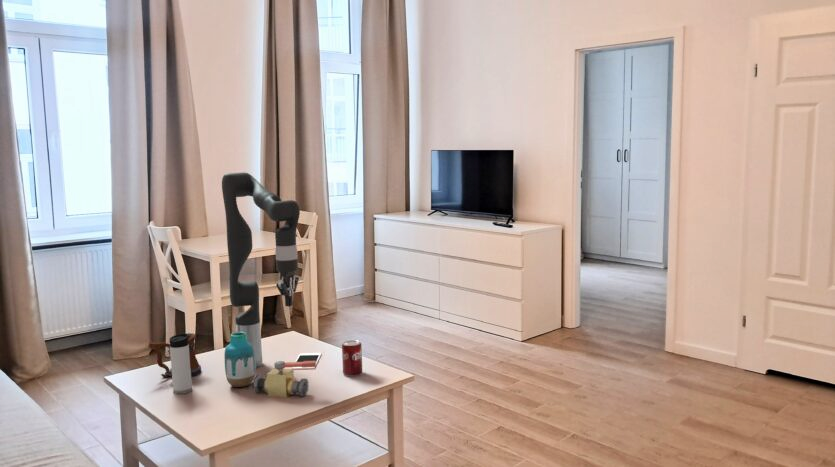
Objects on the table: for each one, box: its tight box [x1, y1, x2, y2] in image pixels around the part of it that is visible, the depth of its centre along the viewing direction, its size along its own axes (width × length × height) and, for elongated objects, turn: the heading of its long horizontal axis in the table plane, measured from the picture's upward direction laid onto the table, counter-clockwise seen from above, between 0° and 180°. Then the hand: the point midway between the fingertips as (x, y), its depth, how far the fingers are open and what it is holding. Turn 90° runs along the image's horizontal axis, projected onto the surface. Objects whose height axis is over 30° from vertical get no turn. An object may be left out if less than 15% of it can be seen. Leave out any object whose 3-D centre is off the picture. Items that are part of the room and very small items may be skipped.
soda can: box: [341, 339, 363, 378], centre depth 246 cm, size 7×7×12 cm
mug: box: [148, 332, 202, 378], centre depth 249 cm, size 18×12×15 cm, turn 121°
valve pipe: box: [252, 367, 309, 399], centre depth 228 cm, size 18×6×9 cm, turn 74°
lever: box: [274, 360, 317, 369], centre depth 228 cm, size 14×4×2 cm, turn 93°
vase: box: [223, 332, 256, 388], centre depth 236 cm, size 11×11×19 cm
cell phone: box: [291, 352, 322, 371], centre depth 262 cm, size 9×18×1 cm, turn 0°
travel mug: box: [169, 333, 193, 395], centre depth 233 cm, size 6×7×20 cm
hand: (289, 305), depth 233 cm, fingers closed
